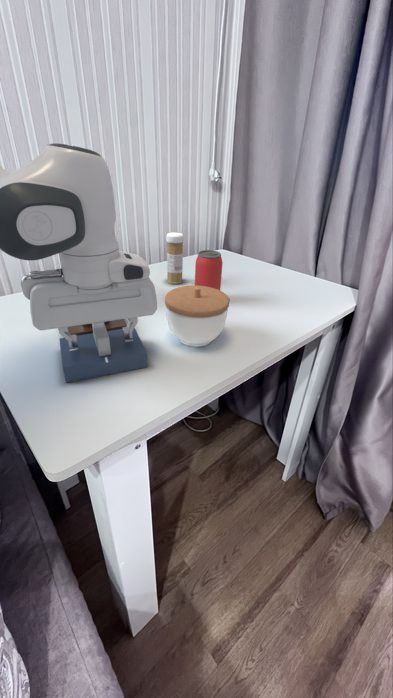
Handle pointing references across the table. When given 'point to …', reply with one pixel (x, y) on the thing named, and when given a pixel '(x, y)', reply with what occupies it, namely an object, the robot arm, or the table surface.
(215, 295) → the lidded bowl
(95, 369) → the panel
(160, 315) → the table surface
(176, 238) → the sprinkles bottle
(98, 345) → the grey rectangular block
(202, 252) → the beer can
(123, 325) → the button block
